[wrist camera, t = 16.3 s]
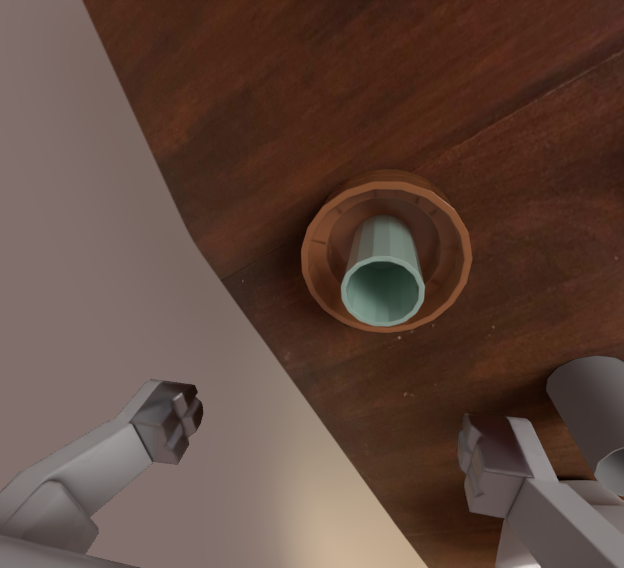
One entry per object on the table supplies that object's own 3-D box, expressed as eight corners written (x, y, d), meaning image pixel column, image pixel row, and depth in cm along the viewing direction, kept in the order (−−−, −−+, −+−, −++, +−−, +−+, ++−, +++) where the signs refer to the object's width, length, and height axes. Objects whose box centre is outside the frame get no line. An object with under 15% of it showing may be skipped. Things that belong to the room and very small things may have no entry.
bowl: (455, 464, 47) (475, 561, 37) (643, 436, 38) (736, 554, 28) (505, 541, 54) (532, 640, 44) (672, 533, 45) (754, 655, 35)
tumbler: (344, 258, 33) (330, 311, 25) (364, 205, 30) (356, 244, 22) (398, 277, 33) (403, 336, 25) (424, 225, 30) (439, 273, 22)
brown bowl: (299, 275, 36) (285, 303, 31) (337, 147, 29) (328, 156, 24) (416, 316, 36) (422, 351, 31) (486, 197, 28) (509, 217, 23)
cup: (529, 388, 37) (572, 471, 29) (590, 343, 33) (661, 426, 25) (587, 419, 38) (646, 510, 29) (655, 379, 34) (747, 472, 25)
